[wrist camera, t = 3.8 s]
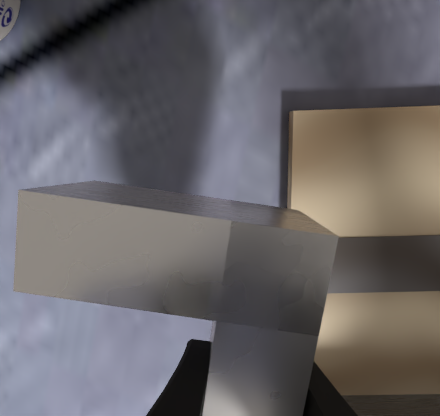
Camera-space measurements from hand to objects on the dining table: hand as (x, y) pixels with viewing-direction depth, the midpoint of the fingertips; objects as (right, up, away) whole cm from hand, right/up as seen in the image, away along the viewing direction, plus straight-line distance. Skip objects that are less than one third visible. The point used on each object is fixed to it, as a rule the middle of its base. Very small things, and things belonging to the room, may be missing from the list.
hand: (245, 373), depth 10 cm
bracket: (-2, +1, +2) cm, 3 cm away
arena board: (+12, +1, +8) cm, 15 cm away
